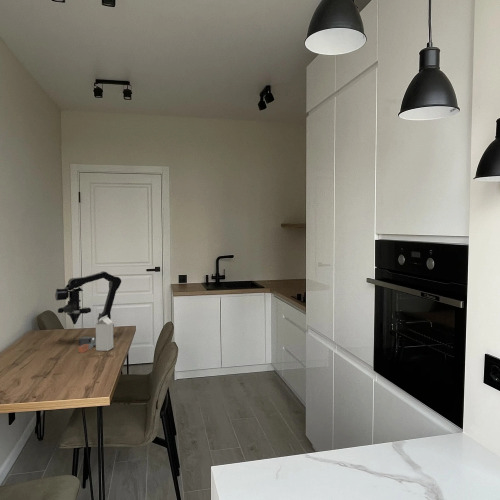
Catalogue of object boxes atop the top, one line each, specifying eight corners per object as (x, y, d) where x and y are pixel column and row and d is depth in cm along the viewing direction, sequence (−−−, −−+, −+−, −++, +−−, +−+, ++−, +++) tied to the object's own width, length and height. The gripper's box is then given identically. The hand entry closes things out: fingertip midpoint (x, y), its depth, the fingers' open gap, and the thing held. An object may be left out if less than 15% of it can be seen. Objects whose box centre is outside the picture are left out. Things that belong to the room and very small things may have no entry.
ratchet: (87, 344, 241) (87, 335, 241) (99, 344, 240) (99, 335, 240) (71, 352, 225) (71, 342, 225) (84, 352, 224) (84, 343, 224)
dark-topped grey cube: (83, 344, 241) (83, 336, 241) (93, 345, 240) (93, 336, 240) (79, 346, 236) (79, 338, 236) (88, 347, 235) (88, 338, 235)
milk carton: (113, 347, 234) (113, 315, 234) (108, 351, 227) (107, 317, 226) (101, 347, 235) (101, 315, 234) (95, 350, 228) (95, 317, 227)
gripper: (52, 300, 240) (52, 326, 240) (81, 301, 237) (81, 327, 238) (63, 297, 251) (63, 322, 251) (91, 298, 248) (91, 323, 249)
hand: (74, 324), depth 247 cm, fingers closed
